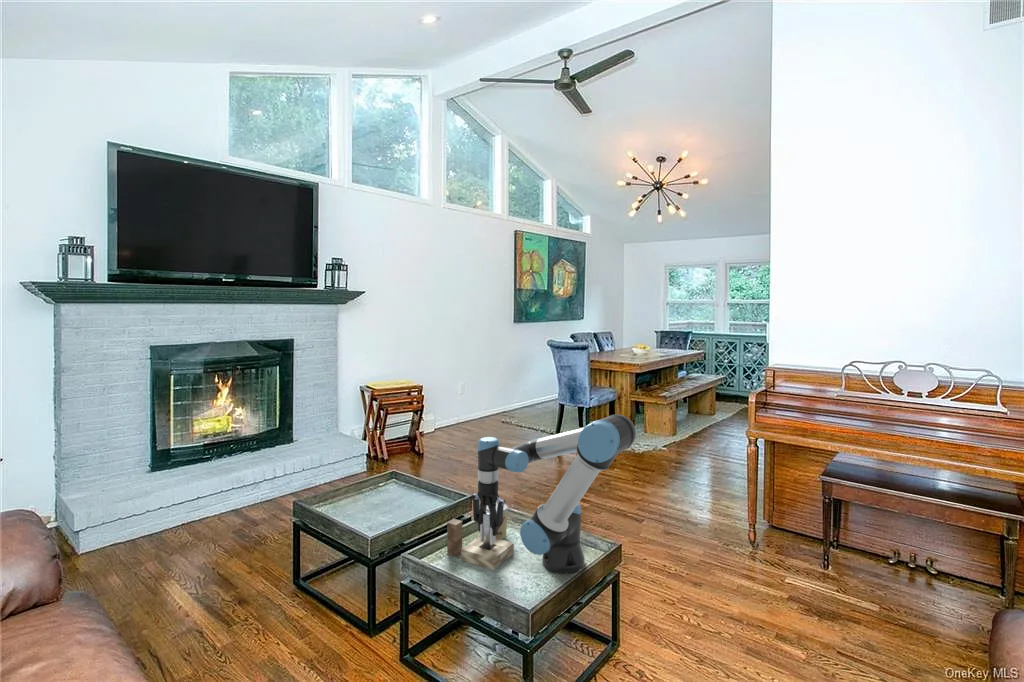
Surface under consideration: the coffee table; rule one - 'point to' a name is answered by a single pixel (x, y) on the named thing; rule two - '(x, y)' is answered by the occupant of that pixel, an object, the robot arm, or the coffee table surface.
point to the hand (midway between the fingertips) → (487, 541)
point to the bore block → (487, 553)
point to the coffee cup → (502, 529)
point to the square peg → (454, 537)
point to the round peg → (486, 530)
